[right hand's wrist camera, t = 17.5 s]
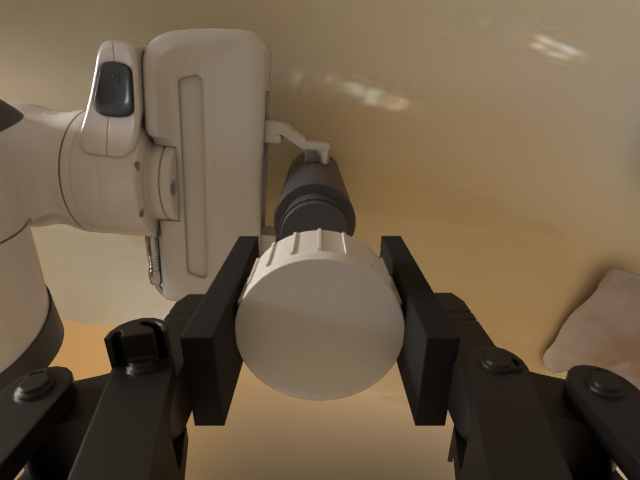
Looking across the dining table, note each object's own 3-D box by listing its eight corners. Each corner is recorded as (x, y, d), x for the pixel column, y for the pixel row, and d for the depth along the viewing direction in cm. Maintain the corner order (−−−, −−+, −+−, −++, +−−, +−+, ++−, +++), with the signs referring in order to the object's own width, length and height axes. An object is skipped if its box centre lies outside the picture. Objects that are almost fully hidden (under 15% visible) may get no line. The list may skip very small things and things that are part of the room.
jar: (337, 148, 32) (358, 188, 17) (340, 198, 34) (361, 273, 19) (286, 152, 32) (264, 195, 17) (291, 201, 34) (275, 279, 19)
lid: (264, 362, 14) (254, 411, 11) (230, 240, 12) (211, 270, 10) (397, 345, 13) (412, 391, 11) (385, 216, 11) (400, 243, 9)
